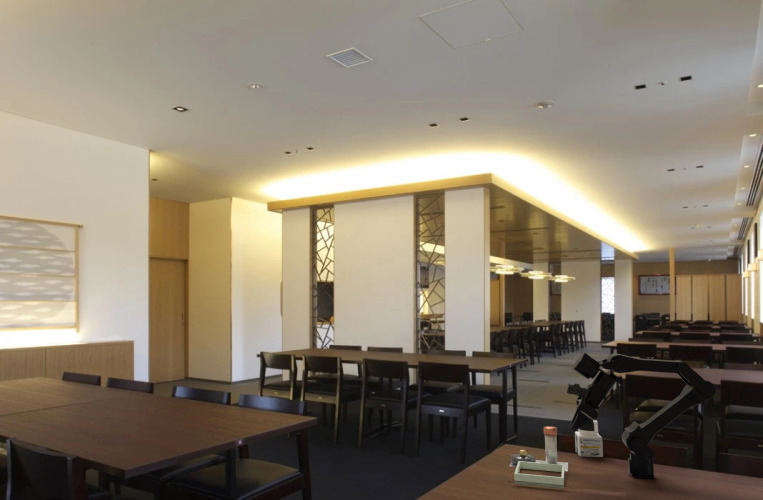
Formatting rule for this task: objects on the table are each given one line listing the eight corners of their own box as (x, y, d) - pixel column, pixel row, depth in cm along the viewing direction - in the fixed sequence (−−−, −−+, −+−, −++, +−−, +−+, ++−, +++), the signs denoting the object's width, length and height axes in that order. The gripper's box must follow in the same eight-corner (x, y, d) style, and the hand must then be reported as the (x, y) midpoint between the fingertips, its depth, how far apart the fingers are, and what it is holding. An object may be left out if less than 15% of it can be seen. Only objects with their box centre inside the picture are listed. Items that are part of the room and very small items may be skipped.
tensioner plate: (568, 465, 179) (567, 450, 180) (567, 474, 170) (567, 458, 170) (512, 461, 185) (512, 446, 186) (509, 469, 176) (509, 453, 176)
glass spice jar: (558, 464, 177) (557, 426, 179) (558, 467, 174) (556, 429, 175) (545, 463, 179) (543, 426, 180) (544, 466, 175) (543, 428, 176)
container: (579, 459, 187) (578, 420, 188) (575, 453, 194) (574, 416, 196) (603, 460, 186) (601, 421, 187) (598, 454, 193) (596, 416, 194)
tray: (564, 474, 170) (564, 464, 170) (563, 488, 156) (563, 478, 157) (518, 470, 174) (518, 461, 175) (514, 484, 161) (514, 473, 161)
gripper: (577, 368, 185) (551, 405, 187) (578, 376, 167) (549, 416, 169) (607, 388, 181) (580, 426, 183) (611, 399, 164) (581, 440, 166)
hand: (572, 426), depth 175 cm, fingers open, 9 cm apart
